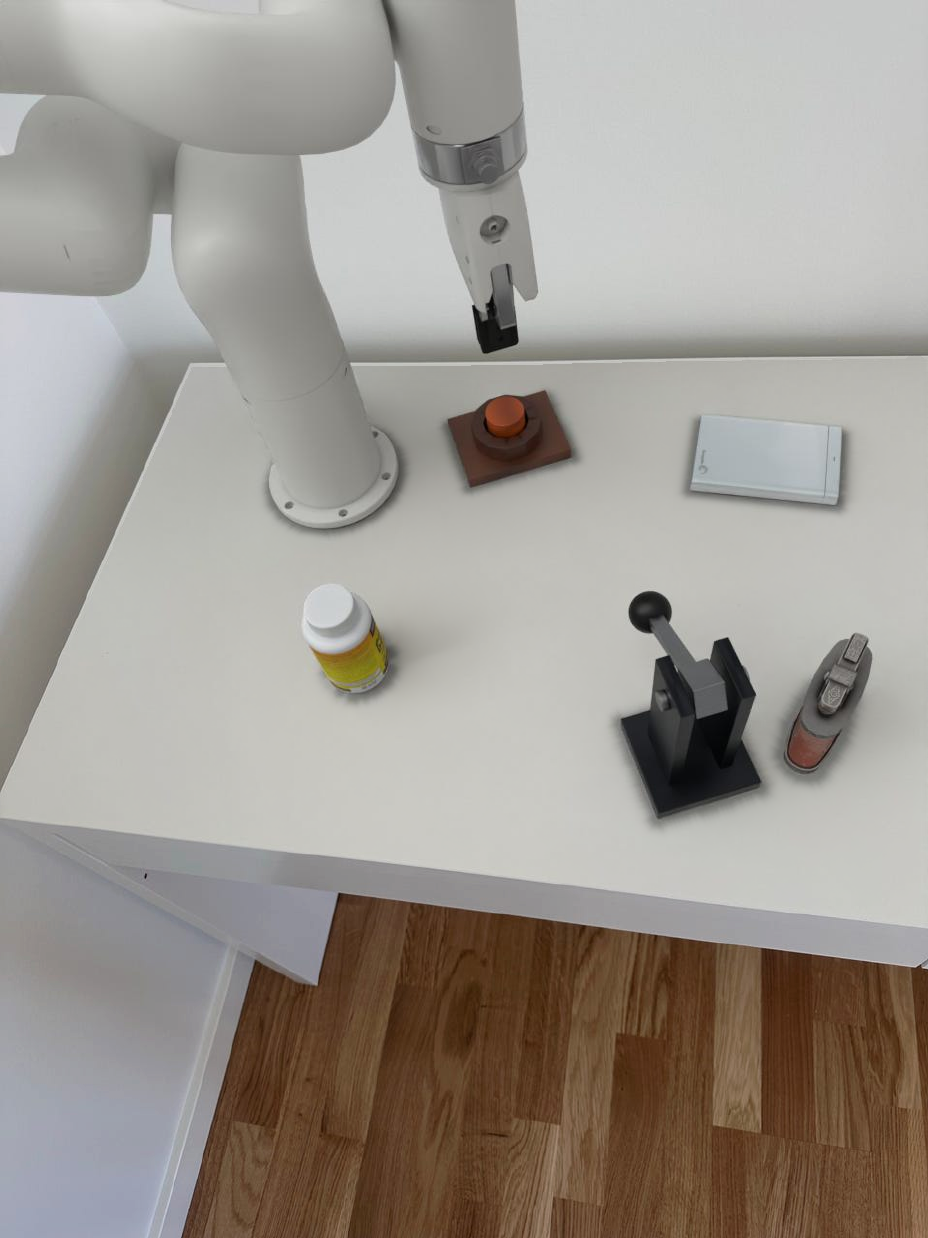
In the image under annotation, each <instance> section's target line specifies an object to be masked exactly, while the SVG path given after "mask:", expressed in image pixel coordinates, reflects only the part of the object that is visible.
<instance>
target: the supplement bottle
mask: <svg viewBox="0 0 928 1238" xmlns="http://www.w3.org/2000/svg"><path fill="white" fill-rule="evenodd" d="M367 603H368V602H366V600H365V599H363V598H362V597H361V596H360V595H359V594H357V593H354V592H353V591H350V590H349V589H348V588H347V587H346V586H344V585H343V584H339V583H325V584H322V585H320V586H318V587H316V588H314V589H313V590H312V591H310V592H309V594H308V595H307V596H306V598H305V600H304V603H303V609H302V612H303V615H302V619H301V625H300V627H301V634H302V636H303V638H304V640H305V642H306V644H307V645H308V648H310V650H311V652H312V653H313V655H314V658H315V659H316V661H317V662H318V664H319V666H320V668H321V670H322V671H323V673H324V675H325V676H326V678H327V680H328V681H329V682H330V684H331V685H332V686H334V688H336V689H337V690H339V691H341V692H343V693H344V692H345V693H348V694H361V693H364V692H368V691H369V690H371V689H373V688H375V687H376V686H378V684H380V683H381V682H382V680H383V679H384V678H385V676H386V675H387V672H388V670H389V667H390V666H389V665H390V655H389V651H388V649H387V646H386V643H385V641H384V640H383V637H382V634H381V631H380V629H379V627H378V625H377V623H376V620H375V618H374V616H373V613H372V610H371V609H370V607H369V605H368V604H367Z"/></svg>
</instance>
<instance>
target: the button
mask: <svg viewBox="0 0 928 1238" xmlns="http://www.w3.org/2000/svg"><path fill="white" fill-rule="evenodd" d="M485 415H486V421H487V427H488V430H489V431H490V432H491V434H493V435H494V436H496V437H499V438H510V437H513V436H516V435H517V434H519V433H520V432H521V431H522V430H523V428H524V426H525V412H524V406H523V404H522V403H521V402H520V401H519V400H518V399H516V398H513V397H500V398H497V399H495V400H493V401H492V402H491V403H490V404H489V405H488V406H487V408H486V411H485Z"/></svg>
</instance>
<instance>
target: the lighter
mask: <svg viewBox="0 0 928 1238" xmlns="http://www.w3.org/2000/svg"><path fill="white" fill-rule="evenodd" d="M869 642H870V639H869V636H867V635H865V634H864V633H862V632H853V633H852V634H851V635H850V637H849V638H845V639H841V640H838V641H837V642H836V643H835V644H834V645H833V647H832V648H831V649H830V651H828V652H827V654H826V655H825V656H824V658H823V659H822V660H821V662H820V665H818V667H817V669H816V671H815V673H814V675H813V676H812V679H811V681H810V683H809V686H808V689H807V691H806V693H805V697H804V700H803V702H802V705H800V707H799V709H798V711H797V712H796V713H795V717H794V719H793V720H792V721H793V722H792V724H791V726H790V729H789V731H788V734H787V738H786V742H785V745H784V751H783V760H784V763H785V765H786V766H787V767H788V768H789V769H790V770H791V771H793V772H795V773H797V774H801V775H810V774H813V773H815V772H816V771H817V770H818V769H819V768H820V767H821V766H822V764H823V763H824V762H825V760H826V759H827V757H828V756H829V755H830V753H831V751H832V750H833V748H834V746H835V744H836V743H837V741H838V739H839V738H840V736H841V734H842V732H843V730H844V729H845V727H846V726H847V723H848V722H849V720H850V718H852V715H853V713H854V711H855V710H856V708H857V707H858V704H859V703H860V701H861V699H862V698H863V696H864V692H865V689H866V687H867V684H868V682H869V678H870V673H871V668H872V664H873V653H872V651H871V649H870V647H868V645H869Z"/></svg>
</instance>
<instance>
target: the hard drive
mask: <svg viewBox="0 0 928 1238" xmlns="http://www.w3.org/2000/svg"><path fill="white" fill-rule="evenodd" d="M842 439H843V425H837V424H828V423H827V424H826V423H815V422H814V423H812V422H802V421H792V420H782V419H771V418H757V417H747V416H746V417H745V416H735V415H726V414H725V415H724V414H712V413H703V412H702V413H701V414H700V420H699V426H698V432H697V439H696V446H695V452H694V459H693V467H692V474H691V480H690V486H689V487H690V488H689V491H693V492H701V493H702V492H703V493H713V494H723V495H731V496H741V497H751V498H761V499H770V500H771V499H772V500H780V501H781V500H782V501H790V502H792V501H793V502H802V503H812V504H821V505H830V506H836V505H837V503H838V501H839V495H840V481H841V480H840V479H841V460H842V441H843V440H842Z"/></svg>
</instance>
